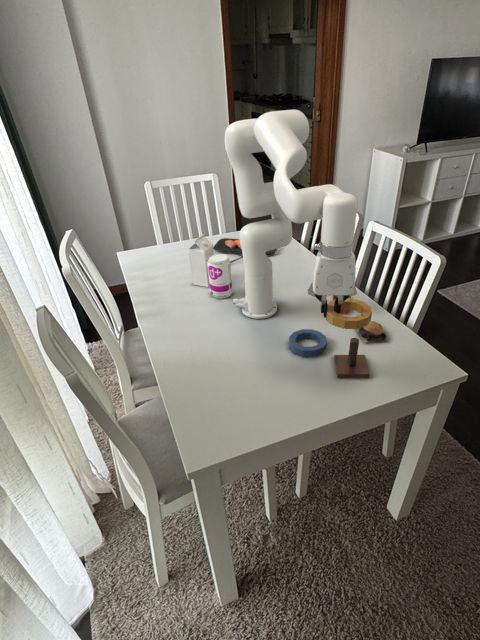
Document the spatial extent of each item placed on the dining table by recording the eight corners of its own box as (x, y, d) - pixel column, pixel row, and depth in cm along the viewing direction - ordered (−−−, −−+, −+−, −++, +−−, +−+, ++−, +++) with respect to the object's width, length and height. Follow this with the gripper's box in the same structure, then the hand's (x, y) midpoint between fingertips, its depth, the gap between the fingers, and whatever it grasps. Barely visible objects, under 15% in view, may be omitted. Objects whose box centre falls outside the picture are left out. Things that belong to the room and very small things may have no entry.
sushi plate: (279, 245, 195) (279, 237, 192) (265, 272, 171) (265, 264, 169) (221, 241, 200) (220, 233, 198) (199, 267, 177) (198, 259, 175)
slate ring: (289, 357, 124) (289, 350, 123) (288, 335, 133) (288, 329, 132) (327, 357, 124) (328, 350, 122) (324, 335, 133) (325, 329, 131)
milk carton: (192, 284, 164) (186, 239, 153) (201, 277, 169) (196, 232, 158) (208, 287, 162) (203, 241, 150) (216, 279, 167) (212, 234, 156)
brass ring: (327, 328, 103) (328, 320, 102) (324, 305, 113) (324, 297, 111) (373, 329, 103) (375, 320, 101) (366, 305, 112) (367, 297, 111)
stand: (337, 378, 116) (340, 349, 110) (333, 358, 123) (336, 331, 117) (369, 378, 115) (374, 349, 110) (363, 358, 123) (368, 331, 117)
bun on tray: (353, 326, 137) (354, 316, 135) (377, 323, 138) (379, 314, 136) (363, 344, 129) (365, 334, 127) (389, 341, 129) (391, 332, 127)
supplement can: (224, 301, 152) (220, 264, 144) (206, 296, 156) (202, 259, 147) (236, 292, 158) (234, 255, 149) (219, 287, 162) (216, 251, 153)
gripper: (302, 255, 94) (300, 322, 105) (372, 255, 93) (362, 323, 104) (301, 242, 100) (299, 307, 111) (367, 242, 99) (358, 308, 110)
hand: (330, 314), depth 108 cm, fingers closed on brass ring, 2 cm apart
